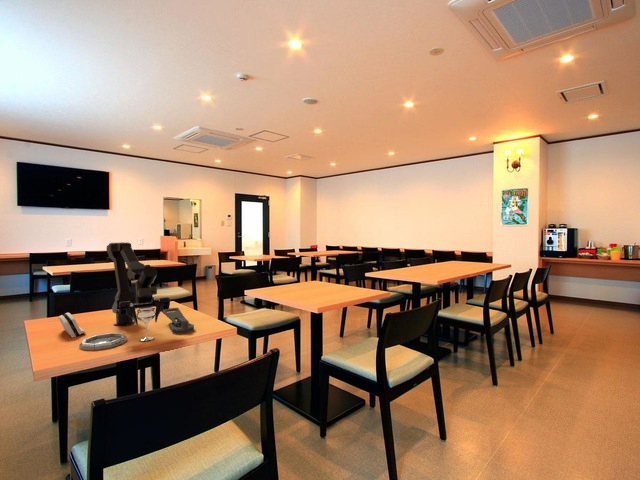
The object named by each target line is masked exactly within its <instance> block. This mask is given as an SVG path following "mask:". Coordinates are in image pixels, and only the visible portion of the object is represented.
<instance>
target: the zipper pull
mask: <svg viewBox="0 0 640 480" xmlns="http://www.w3.org/2000/svg"><path fill="white" fill-rule="evenodd" d="M161 313H162V314H163V315H164V316H165V317H167V318H168V319H169V320H170V321H171V322H170V323H168V328H169V330H170V331H171V333H172V334H173V335H185V334H190V333H193V332H194V331H195V324H192V323H190V322H189V320H188V319H187V318H186V317H185V315H184V314H183V313H182V311H181V310H180V308H179V307H169V309H166V310H163V311H162V312H161Z"/></svg>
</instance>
